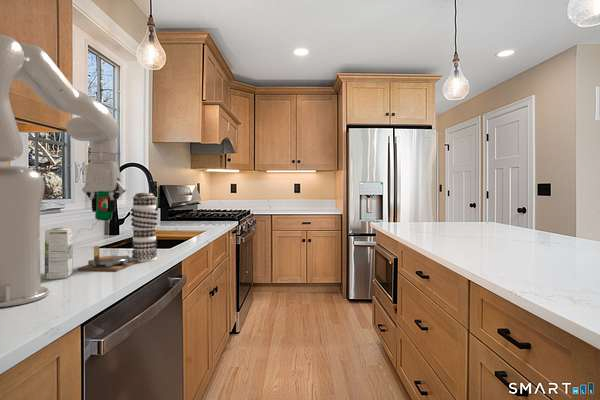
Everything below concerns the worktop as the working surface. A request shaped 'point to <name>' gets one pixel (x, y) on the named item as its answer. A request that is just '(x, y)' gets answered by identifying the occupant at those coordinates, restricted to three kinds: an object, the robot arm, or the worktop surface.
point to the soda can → (102, 206)
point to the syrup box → (58, 253)
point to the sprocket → (108, 259)
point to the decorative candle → (144, 227)
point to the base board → (104, 268)
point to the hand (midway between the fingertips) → (104, 211)
